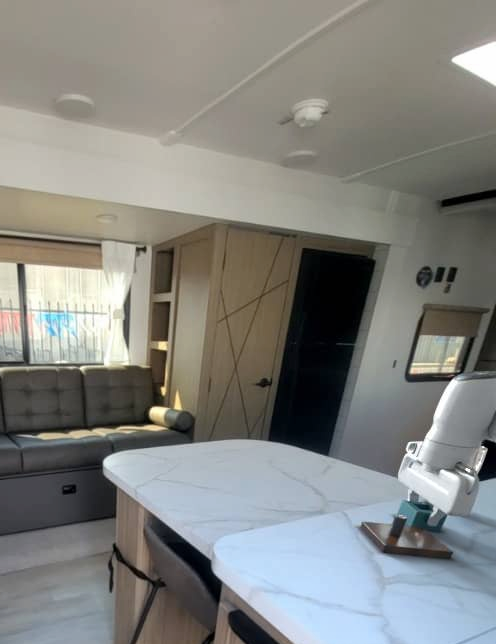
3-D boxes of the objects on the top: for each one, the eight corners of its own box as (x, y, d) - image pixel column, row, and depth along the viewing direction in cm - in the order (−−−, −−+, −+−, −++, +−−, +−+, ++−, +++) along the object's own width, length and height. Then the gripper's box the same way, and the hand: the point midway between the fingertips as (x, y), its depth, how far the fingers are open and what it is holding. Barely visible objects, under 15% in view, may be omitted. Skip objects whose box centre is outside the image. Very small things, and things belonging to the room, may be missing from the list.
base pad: (420, 533, 84) (430, 509, 82) (450, 558, 75) (462, 532, 73) (360, 527, 85) (368, 504, 83) (382, 552, 76) (392, 526, 74)
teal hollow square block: (424, 518, 91) (431, 502, 89) (440, 531, 85) (448, 514, 84) (396, 516, 91) (402, 500, 90) (410, 528, 86) (417, 511, 84)
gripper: (500, 474, 72) (467, 541, 78) (433, 443, 90) (410, 499, 96) (462, 471, 73) (432, 538, 79) (403, 440, 91) (382, 497, 97)
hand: (420, 516), depth 88 cm, fingers closed on teal hollow square block, 6 cm apart
